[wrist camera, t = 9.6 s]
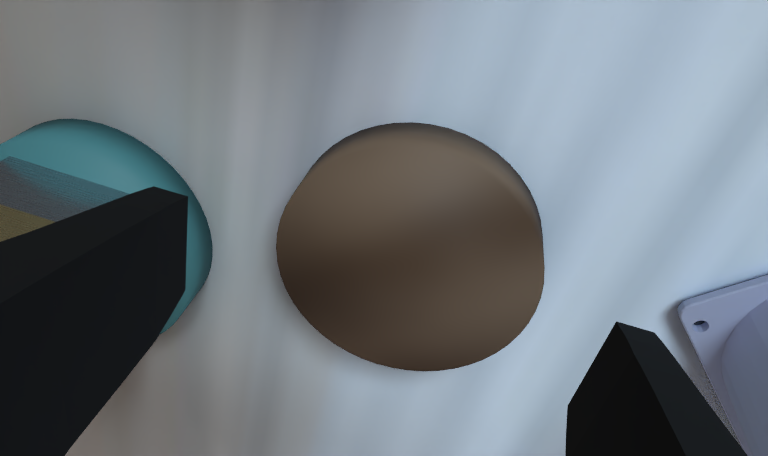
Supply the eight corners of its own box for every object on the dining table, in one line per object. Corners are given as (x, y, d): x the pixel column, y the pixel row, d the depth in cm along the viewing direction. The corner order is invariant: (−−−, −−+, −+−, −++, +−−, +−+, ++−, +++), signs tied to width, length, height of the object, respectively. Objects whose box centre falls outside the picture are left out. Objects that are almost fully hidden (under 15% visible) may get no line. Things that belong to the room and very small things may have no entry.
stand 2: (584, 290, 21) (590, 327, 20) (377, 360, 25) (366, 396, 23) (465, 73, 18) (459, 94, 16) (247, 190, 22) (224, 217, 20)
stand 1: (256, 270, 24) (236, 301, 22) (112, 336, 27) (86, 366, 26) (99, 75, 20) (62, 94, 19) (-40, 180, 24) (-81, 204, 23)
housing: (132, 337, 24) (51, 436, 20) (29, 304, 24) (-72, 395, 20) (131, 194, 20) (31, 280, 16) (9, 155, 21) (-121, 230, 16)
